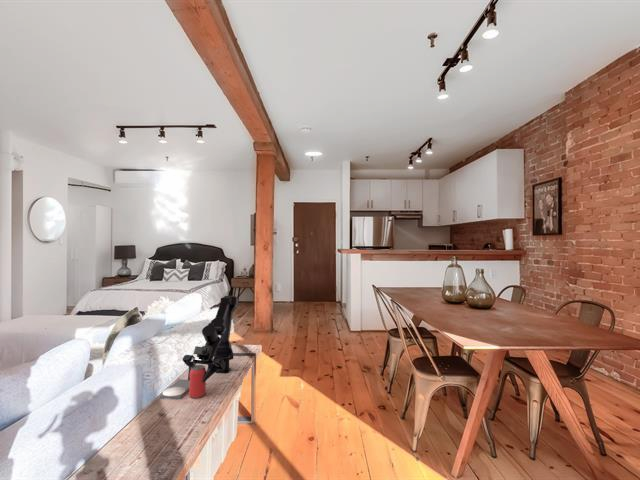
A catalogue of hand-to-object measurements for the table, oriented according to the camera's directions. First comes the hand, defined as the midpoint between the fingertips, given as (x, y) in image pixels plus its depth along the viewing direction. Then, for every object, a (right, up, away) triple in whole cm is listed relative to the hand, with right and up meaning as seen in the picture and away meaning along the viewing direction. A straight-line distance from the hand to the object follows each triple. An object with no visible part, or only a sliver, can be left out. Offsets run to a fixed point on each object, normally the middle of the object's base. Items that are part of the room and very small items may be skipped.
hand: (195, 381), depth 143 cm
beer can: (0, -7, +1) cm, 7 cm away
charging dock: (-10, -7, +6) cm, 13 cm away
